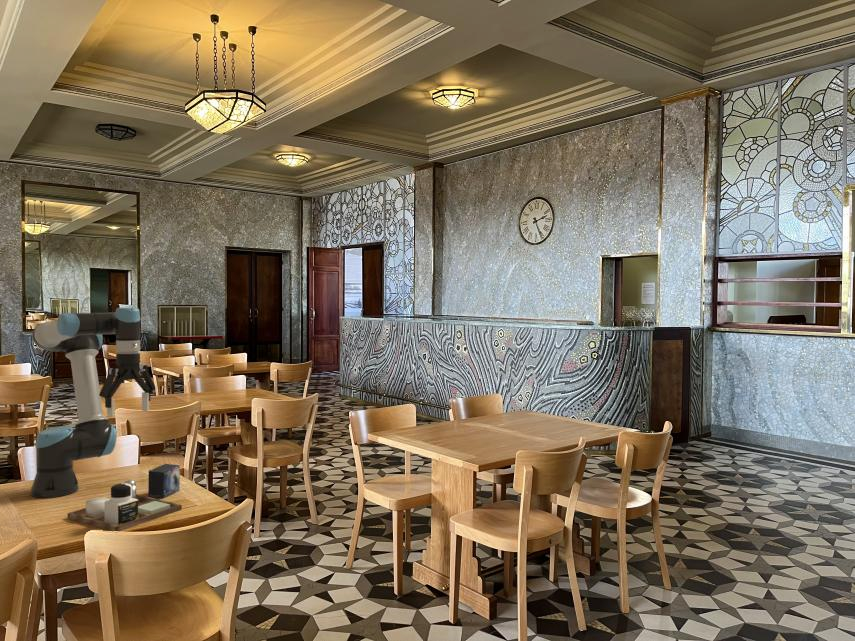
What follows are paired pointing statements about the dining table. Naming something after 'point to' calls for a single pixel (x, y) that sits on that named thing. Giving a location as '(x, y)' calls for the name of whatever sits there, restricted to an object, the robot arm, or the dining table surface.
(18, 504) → the dining table surface
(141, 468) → the dining table surface
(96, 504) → the silver rounded block
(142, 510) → the napkin stack
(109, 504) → the medicine bottle
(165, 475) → the small box
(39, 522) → the dining table surface
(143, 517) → the caddy
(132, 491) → the metal shaker
